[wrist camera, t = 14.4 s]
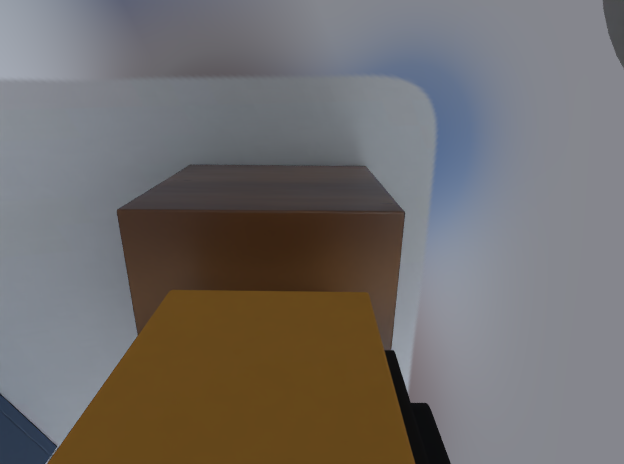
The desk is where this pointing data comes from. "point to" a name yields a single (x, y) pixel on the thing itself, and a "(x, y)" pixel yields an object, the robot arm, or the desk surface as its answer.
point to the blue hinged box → (21, 438)
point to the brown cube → (264, 235)
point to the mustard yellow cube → (247, 386)
